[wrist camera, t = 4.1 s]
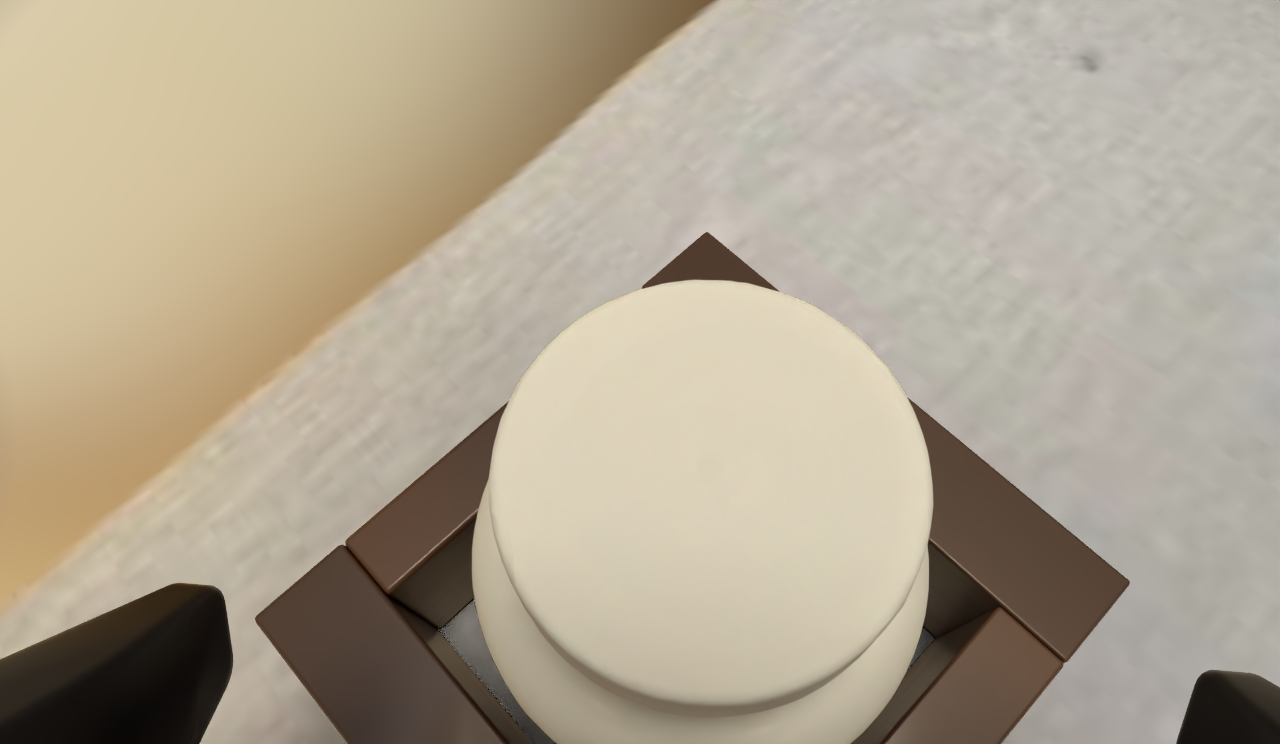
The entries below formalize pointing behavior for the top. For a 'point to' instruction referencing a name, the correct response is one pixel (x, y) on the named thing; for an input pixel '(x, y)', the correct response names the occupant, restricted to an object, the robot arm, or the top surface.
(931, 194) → the top surface
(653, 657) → the pill bottle
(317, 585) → the holder
